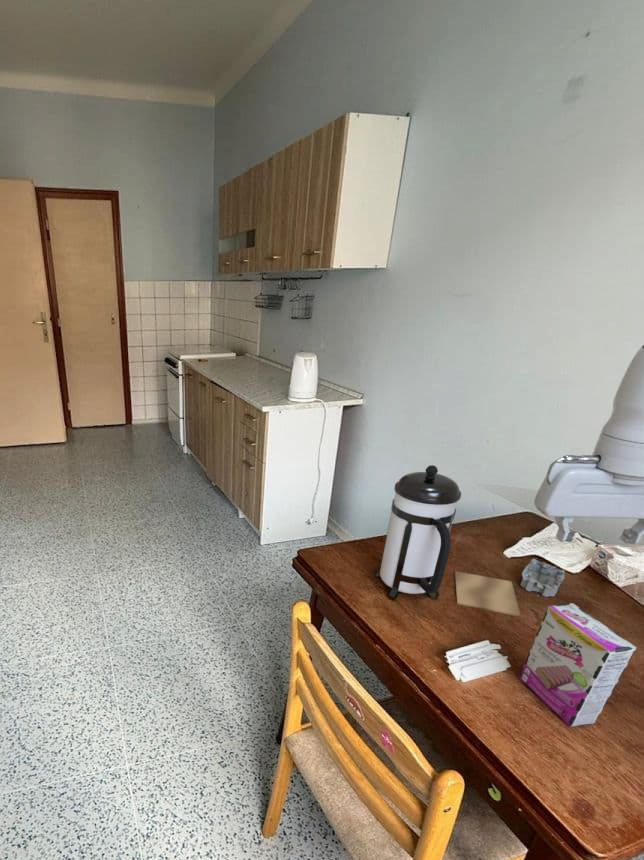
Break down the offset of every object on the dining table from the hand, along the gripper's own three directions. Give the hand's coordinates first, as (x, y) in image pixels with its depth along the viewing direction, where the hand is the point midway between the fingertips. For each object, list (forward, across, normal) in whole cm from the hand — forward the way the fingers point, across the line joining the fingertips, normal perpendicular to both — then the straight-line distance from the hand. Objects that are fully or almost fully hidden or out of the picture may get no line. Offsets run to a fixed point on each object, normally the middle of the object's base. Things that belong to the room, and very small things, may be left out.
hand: (595, 540), depth 74 cm
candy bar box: (+27, -1, -7) cm, 28 cm away
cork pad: (+27, +1, +25) cm, 37 cm away
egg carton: (+27, +15, +30) cm, 43 cm away
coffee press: (+27, -16, +25) cm, 40 cm away
